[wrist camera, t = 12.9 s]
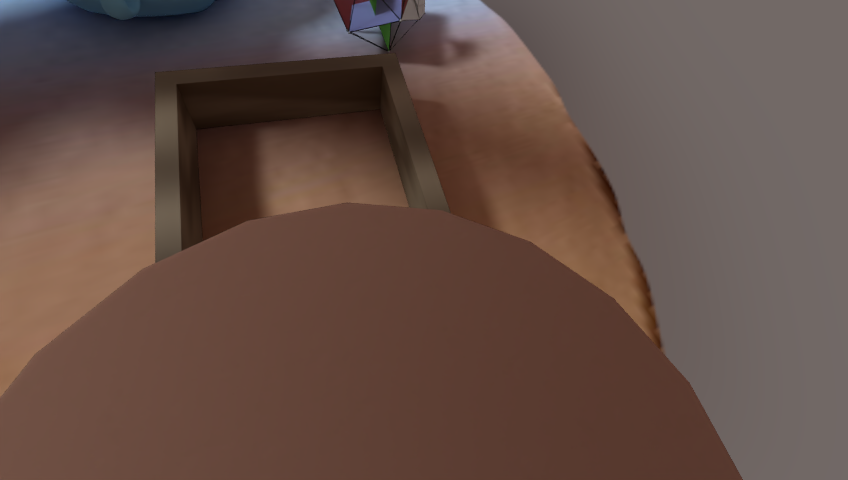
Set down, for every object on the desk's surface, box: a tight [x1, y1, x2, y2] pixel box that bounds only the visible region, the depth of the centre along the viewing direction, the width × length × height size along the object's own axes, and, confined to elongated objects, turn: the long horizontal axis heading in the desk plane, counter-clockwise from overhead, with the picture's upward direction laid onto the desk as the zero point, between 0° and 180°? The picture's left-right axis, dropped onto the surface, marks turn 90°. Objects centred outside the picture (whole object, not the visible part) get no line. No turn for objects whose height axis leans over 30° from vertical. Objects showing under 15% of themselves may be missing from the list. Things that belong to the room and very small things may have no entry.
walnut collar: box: [155, 53, 450, 263], centre depth 29 cm, size 15×15×4 cm
